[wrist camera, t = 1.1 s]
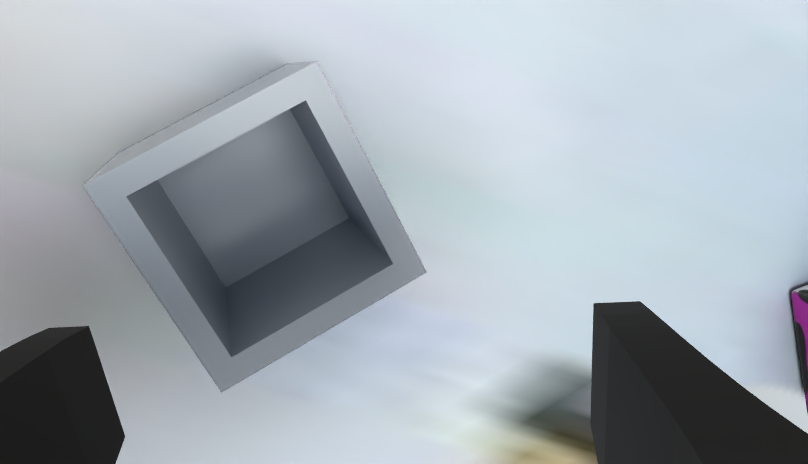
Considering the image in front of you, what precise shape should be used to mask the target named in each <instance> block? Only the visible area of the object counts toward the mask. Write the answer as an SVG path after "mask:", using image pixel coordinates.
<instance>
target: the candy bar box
mask: <svg viewBox="0 0 808 464" xmlns="http://www.w3.org/2000/svg"><path fill="white" fill-rule="evenodd" d="M791 299H792V307H793V314H794V322H795V329H796V337H797V344H798V351H799V357H800V364H801V372H802V379H803V385H804V392H805V399H806V406H807V412H808V284H807V285H805V286H803V287H800V288H797V289H795V290H793V291H792V297H791Z"/></svg>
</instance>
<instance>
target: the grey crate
mask: <svg viewBox="0 0 808 464" xmlns="http://www.w3.org/2000/svg"><path fill="white" fill-rule="evenodd" d="M82 186H83V187H84V189H85V190H86V192H87V193H88V195H89V196H90V198H91V199H92V201H93V202H94V204H95V205H96V207H97V208H98V210H99V211H100V213H101V214H102V216H103V217H104V219H105V220H106V222H107V223H108V224H109V226H110V227H111V229H112V230H113V232H114V233H115V235H116V236H117V238H118V239H119V241H120V242H121V244H122V245H123V247H124V248H125V250H126V251H127V253H128V254H129V256H130V257H131V259H132V260H133V262H134V263H135V265H136V266H137V268H138V269H139V271H140V272H141V274H142V275H143V277H144V278H145V279H146V281H147V282H148V284H149V285H150V287H151V288H152V290H153V291H154V293H155V294H156V296H157V297H158V299H159V300H160V302H161V303H162V305H163V306H164V308H165V309H166V311H167V312H168V314H169V315H170V317H171V318H172V320H173V321H174V323H175V324H176V326H177V327H178V329H179V330H180V331H181V333H182V334H183V336H184V337H185V339H186V340H187V342H188V343H189V345H190V346H191V348H192V349H193V351H194V352H195V354H196V355H197V357H198V358H199V360H200V361H201V363H202V364H203V366H204V367H205V369H206V370H207V372H208V373H209V375H210V376H211V378H212V379H213V381H214V382H215V384H216V385H217V386H218V388H219V389H220V391H221V392H223V391H225V390H226V389H228V388H230V387H231V386H233V385H235V384H236V383H238V382H240V381H242V380H243V379H245V378H247V377H248V376H250V375H252V374H254V373H255V372H257V371H259V370H260V369H262V368H264V367H266V366H267V365H269V364H271V363H272V362H274V361H276V360H277V359H279V358H281V357H283V356H284V355H286V354H288V353H289V352H291V351H293V350H295V349H296V348H298V347H300V346H301V345H303V344H305V343H307V342H308V341H310V340H312V339H313V338H315V337H317V336H318V335H320V334H322V333H324V332H325V331H327V330H329V329H330V328H332V327H334V326H336V325H337V324H339V323H341V322H342V321H344V320H346V319H347V318H349V317H351V316H353V315H354V314H356V313H358V312H359V311H361V310H363V309H365V308H366V307H368V306H370V305H371V304H373V303H375V302H377V301H378V300H380V299H382V298H383V297H385V296H387V295H388V294H390V293H392V292H394V291H395V290H397V289H399V288H400V287H402V286H404V285H406V284H407V283H409V282H411V281H412V280H414V279H416V278H417V277H419V276H421V275H423V274H424V273H426V270H425V268H424V266H423V264H422V262H421V260H420V258H419V257H418V255H417V253H416V251H415V249H414V247H413V245H412V243H411V241H410V239H409V237H408V235H407V233H406V232H405V230H404V228H403V226H402V224H401V222H400V220H399V218H398V216H397V214H396V212H395V210H394V208H393V206H392V205H391V203H390V201H389V199H388V197H387V195H386V193H385V191H384V189H383V187H382V185H381V183H380V181H379V179H378V178H377V176H376V174H375V172H374V170H373V168H372V166H371V164H370V162H369V160H368V158H367V156H366V154H365V153H364V151H363V149H362V147H361V145H360V143H359V141H358V139H357V137H356V135H355V133H354V131H353V129H352V127H351V126H350V124H349V122H348V120H347V118H346V116H345V114H344V112H343V110H342V108H341V106H340V104H339V102H338V101H337V99H336V97H335V95H334V93H333V91H332V89H331V87H330V85H329V83H328V81H327V79H326V77H325V75H324V74H323V72H322V70H321V68H320V66H319V64H318V62H317V61H313V62H301V63H289V64H286V65H284V66H282V67H280V68H278V69H276V70H274V71H272V72H270V73H268V74H267V75H265V76H263V77H261V78H259V79H257V80H255V81H253V82H251V83H250V84H248V85H246V86H244V87H242V88H240V89H238V90H236V91H234V92H232V93H231V94H229V95H227V96H225V97H223V98H221V99H219V100H217V101H215V102H213V103H212V104H210V105H208V106H206V107H204V108H202V109H200V110H198V111H196V112H194V113H193V114H191V115H189V116H187V117H185V118H183V119H181V120H179V121H177V122H176V123H174V124H172V125H170V126H168V127H166V128H164V129H162V130H160V131H158V132H157V133H155V134H153V135H151V136H149V137H147V138H145V139H143V140H141V141H139V142H138V143H136V144H134V145H132V146H130V147H128V148H126V149H124V150H122V151H120V152H119V153H117V154H116V155H115V156H114V157H113V158H112V159H111V160H109V161H108V162H107V163H106V164H105V165H104V166H103V167H102V168H101V169H100V170H99V171H97V172H96V173H95V174H94V175H93V176H92V177H91V178H90V179H89V180H88V181H87V182H86V183H84V184H83V185H82Z"/></svg>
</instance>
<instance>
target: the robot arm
mask: <svg viewBox="0 0 808 464" xmlns="http://www.w3.org/2000/svg"><path fill="white" fill-rule="evenodd" d="M591 428H592V434H593V439H594V444H595V450H596V455H597V460H598V464H808V434H807V433H806V432H804V431H803V430H802V429H800V428H799V427H797V426H796V425H794V424H793V423H792V422H790V421H789V420H787V419H786V418H784V417H783V416H782V415H780V414H779V413H777V412H776V411H774V410H773V409H772V408H770V407H769V406H768V405H766V404H765V403H764V402H762V401H761V400H759V399H758V398H757V397H756V396H754V395H753V394H751V393H750V392H749V391H748V390H746V389H745V388H744V387H742V386H741V385H740V384H739V383H737V382H736V381H735V380H733V379H732V378H731V377H730V376H728V375H727V374H726V373H725V372H723V371H722V370H721V369H720V368H718V367H717V366H716V365H715V364H713V363H712V362H711V361H710V360H709V359H707V358H706V357H705V356H704V355H702V354H701V353H700V352H699V351H698V350H696V349H695V348H694V347H693V346H692V345H691V344H689V343H688V342H687V341H686V340H685V339H683V338H682V337H681V336H680V335H679V334H678V333H676V332H675V331H674V330H673V329H672V328H671V327H669V326H668V325H667V324H666V323H665V322H664V321H663V320H661V319H660V318H659V317H658V316H657V315H656V314H654V313H653V312H652V311H651V310H650V309H649V308H647V307H646V306H645V305H644V304H643V303H641V302H640V301H637V302H615V303H594V312H593V349H592V386H591ZM124 438H125V435H124V432H123V429H122V426H121V423H120V420H119V416H118V413H117V410H116V407H115V404H114V401H113V398H112V395H111V392H110V389H109V386H108V383H107V380H106V377H105V374H104V371H103V368H102V365H101V362H100V359H99V356H98V353H97V349H96V346H95V343H94V340H93V337H92V334H91V331H90V328H89V326H82V327H59V328H48V329H46V330H43V331H41V332H39V333H36V334H34V335H32V336H30V337H28V338H26V339H24V340H22V341H20V342H18V343H16V344H14V345H12V346H10V347H8V348H6V349H4V350H3V351H1V352H0V464H115V463H116V460H117V457H118V455H119V452H120V449H121V447H122V444H123V441H124Z"/></svg>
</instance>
